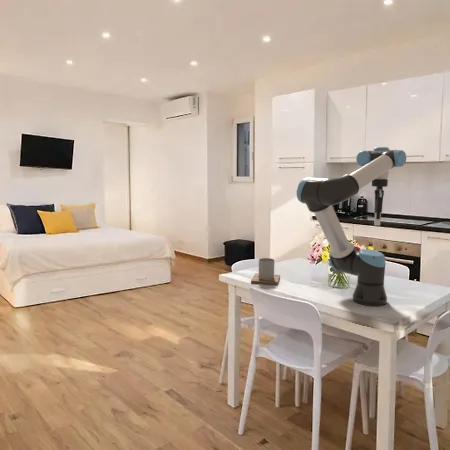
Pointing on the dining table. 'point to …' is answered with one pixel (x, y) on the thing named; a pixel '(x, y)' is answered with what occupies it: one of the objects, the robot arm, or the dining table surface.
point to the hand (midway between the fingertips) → (377, 225)
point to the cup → (266, 268)
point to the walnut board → (260, 281)
